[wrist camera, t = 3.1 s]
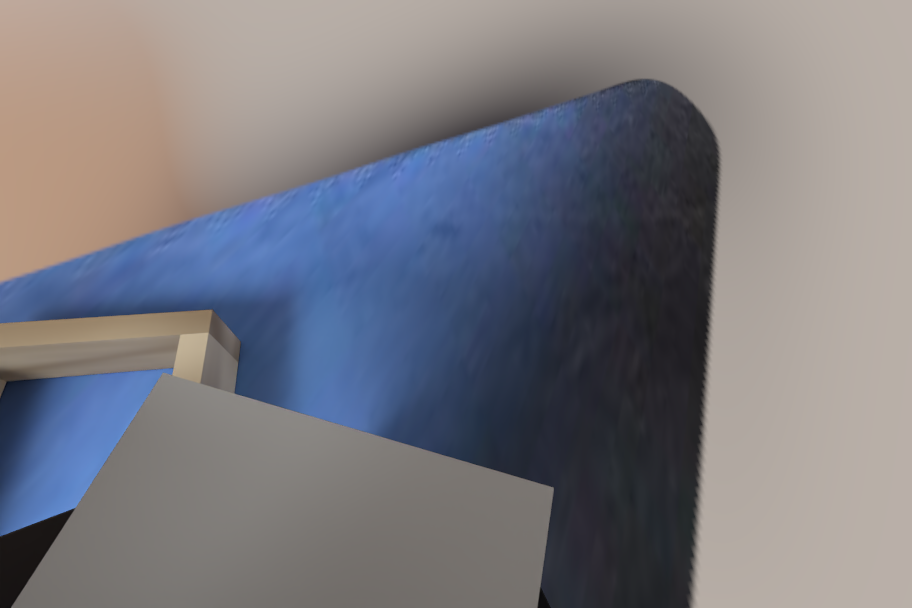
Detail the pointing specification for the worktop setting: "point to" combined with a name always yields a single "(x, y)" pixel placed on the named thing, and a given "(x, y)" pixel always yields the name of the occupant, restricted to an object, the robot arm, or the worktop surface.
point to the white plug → (288, 518)
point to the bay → (122, 347)
